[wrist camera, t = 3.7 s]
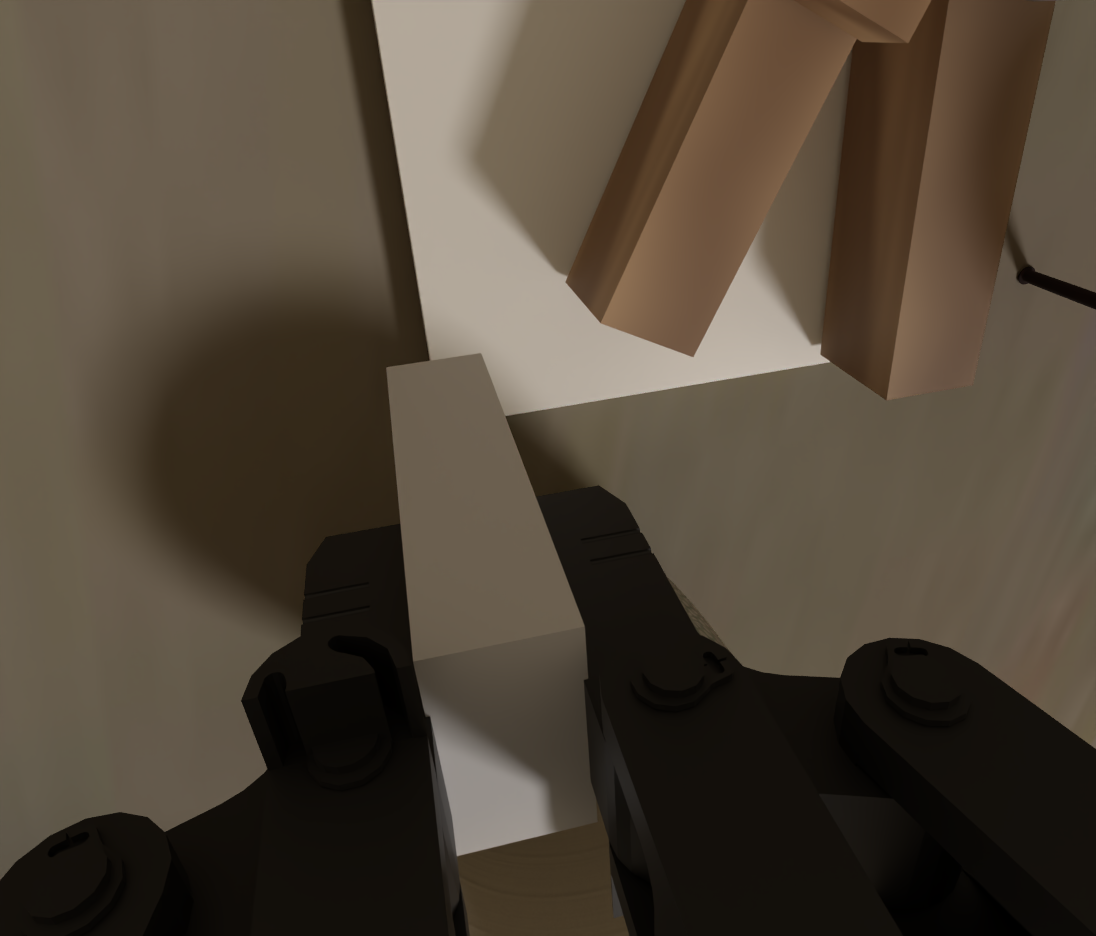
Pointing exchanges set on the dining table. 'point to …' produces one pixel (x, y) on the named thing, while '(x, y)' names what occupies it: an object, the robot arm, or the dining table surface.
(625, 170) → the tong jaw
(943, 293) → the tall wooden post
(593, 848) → the planter
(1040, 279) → the lollipop
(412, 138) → the board
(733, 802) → the robot arm
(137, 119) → the dining table surface
